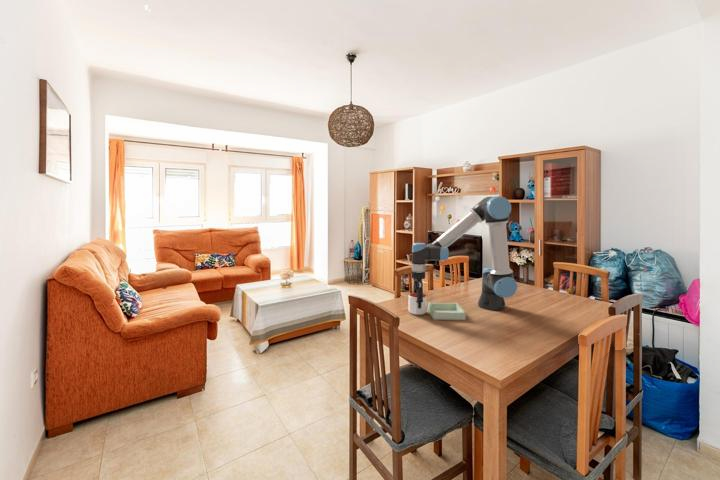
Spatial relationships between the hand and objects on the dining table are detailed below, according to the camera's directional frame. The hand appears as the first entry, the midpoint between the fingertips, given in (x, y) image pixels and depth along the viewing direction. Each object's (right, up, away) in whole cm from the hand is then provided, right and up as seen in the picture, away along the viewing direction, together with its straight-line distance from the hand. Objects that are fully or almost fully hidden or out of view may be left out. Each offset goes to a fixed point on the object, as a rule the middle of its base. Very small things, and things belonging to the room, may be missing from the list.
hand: (417, 310), depth 182 cm
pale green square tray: (+15, -2, -3) cm, 15 cm away
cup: (0, -1, 0) cm, 2 cm away
